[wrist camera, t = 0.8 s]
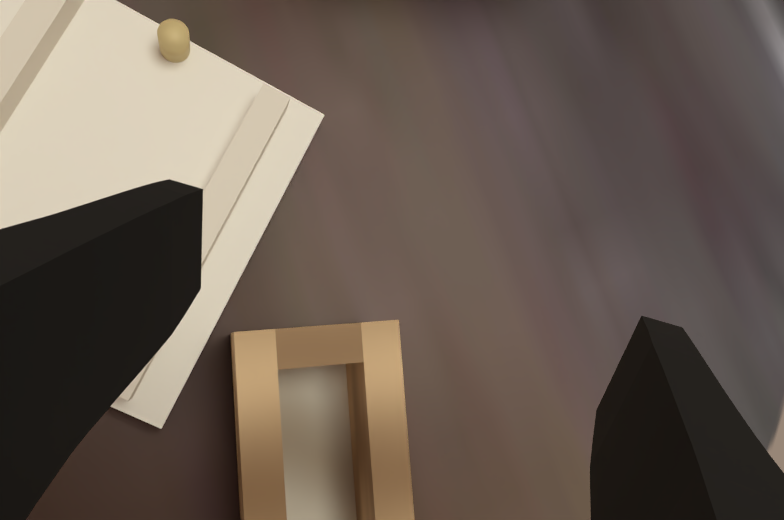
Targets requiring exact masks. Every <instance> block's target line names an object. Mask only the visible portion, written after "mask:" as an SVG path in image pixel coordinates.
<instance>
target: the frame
mask: <svg viewBox="0 0 784 520" xmlns="http://www.w3.org/2000/svg"><path fill="white" fill-rule="evenodd" d="M230 342H231V361H232V379H233V397H234V416H235V434H236V453H237V471H238V489H239V508H240V520H414V508H413V496H412V483H411V470H410V458H409V445H408V432H407V420H406V407H405V394H404V381H403V369H402V356H401V343H400V331H399V320H390V321H376V322H363V323H349V324H336V325H323V326H309V327H296V328H282V329H269V330H255V331H242V332H233V333H231V334H230Z"/></svg>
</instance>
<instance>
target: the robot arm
mask: <svg viewBox="0 0 784 520" xmlns="http://www.w3.org/2000/svg"><path fill="white" fill-rule="evenodd" d="M202 216H203V189H201V188H198V187H194V186H191V185H187V184H184V183H180V182H177V181H174V180H170V179H168V180H163V181H159V182H155V183H151V184H147V185H144V186H140V187H137V188H134V189H131V190H127V191H124V192H121V193H118V194H115V195H112V196H109V197H106V198H102V199H99V200H96V201H93V202H90V203H87V204H84V205H81V206H77V207H74V208H71V209H68V210H65V211H62V212H59V213H55V214H52V215H49V216H45V217H42V218H38V219H35V220H31V221H27V222H24V223H20V224H17V225H13V226H9V227H6V228H2V229H0V520H26V518H27V517H28V515H29V514H30V512H31V511H32V509H33V508H34V506H35V505H36V503H37V502H38V500H39V499H40V497H41V496H42V494H43V493H44V492H45V490H46V489H47V487H48V486H49V484H50V483H51V482H52V480H53V479H54V477H55V476H56V474H57V473H58V471H59V470H60V469H61V467H62V466H63V464H64V463H65V461H66V460H67V459H68V457H69V456H70V454H71V453H72V452H73V451H74V449H75V448H76V447H77V445H78V444H79V443H80V442H81V440H82V439H83V438H84V437H85V435H86V434H87V433H88V432H89V430H90V429H91V428H92V427H93V426H94V425H95V424H96V422H97V421H98V420H99V419H100V418H101V417H102V415H103V414H104V413H105V412H106V411H107V410H108V409H109V407H110V406H111V405H112V404H113V403H114V402H115V400H116V399H117V398H118V397H119V396H120V395H121V394H122V392H123V391H124V390H125V389H126V388H127V387H128V386H129V384H130V383H131V382H132V381H133V380H134V379H135V377H136V376H137V375H138V374H139V373H140V372H141V371H142V369H143V368H144V367H145V366H146V365H147V364H148V362H149V361H150V360H151V359H152V358H153V356H154V355H155V354H156V353H157V352H158V351H159V349H160V348H161V347H162V346H163V345H164V343H165V342H166V341H167V340H168V339H169V337H170V336H171V335H172V334H173V332H174V331H175V329H176V328H177V326H178V325H179V323H180V321H181V320H182V318H183V317H184V315H185V314H186V312H187V311H188V309H189V307H190V306H191V304H192V302H193V301H194V299H195V298H196V296H197V294H198V293H199V291H200V289H201V263H202ZM590 497H591V520H784V473H783V472H782V470H781V469H780V468H779V467H778V465H777V464H776V463H775V462H774V460H773V459H772V458H771V456H770V455H769V454H768V452H767V451H766V449H765V448H764V447H763V445H762V444H761V443H760V441H759V440H758V439H757V437H756V436H755V434H754V433H753V432H752V430H751V429H750V427H749V426H748V425H747V423H746V422H745V420H744V419H743V417H742V416H741V415H740V413H739V412H738V410H737V409H736V407H735V406H734V404H733V403H732V401H731V400H730V398H729V397H728V395H727V394H726V392H725V391H724V389H723V388H722V386H721V385H720V383H719V382H718V380H717V379H716V377H715V376H714V374H713V373H712V371H711V370H710V368H709V367H708V365H707V364H706V362H705V360H704V359H703V357H702V356H701V354H700V353H699V351H698V350H697V348H696V347H695V345H694V344H693V342H692V341H691V339H690V338H689V336H688V335H687V333H686V332H685V331H684V329H683V328H682V327H679V326H675V325H672V324H668V323H665V322H661V321H658V320H655V319H651V318H648V317H644V316H641V318H640V320H639V322H638V324H637V327H636V329H635V331H634V333H633V335H632V337H631V339H630V341H629V343H628V345H627V348H626V350H625V352H624V354H623V356H622V358H621V360H620V362H619V364H618V366H617V368H616V371H615V373H614V375H613V377H612V379H611V381H610V383H609V385H608V387H607V389H606V391H605V394H604V396H603V398H602V400H601V402H600V404H599V406H598V408H597V410H596V419H595V427H594V435H593V443H592V453H591V463H590Z"/></svg>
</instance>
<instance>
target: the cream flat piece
mask: <svg viewBox="0 0 784 520" xmlns="http://www.w3.org/2000/svg"><path fill="white" fill-rule="evenodd" d="M323 117H324V114H322V113H320V112H318V111H316V110H315V109H313V108H311V107H309V106H307V105H306V104H304V103H302V102H300V101H298V100H296V99H295V98H293V97H291V96H289V95H287V94H285V93H284V92H282V91H280V90H278V89H276V88H275V87H273V86H271V85H269V84H267V83H265V82H264V81H262V80H260V79H258V78H256V77H254V76H253V75H251V74H249V73H247V72H245V71H244V70H242V69H240V68H238V67H236V66H234V65H233V64H231V63H229V62H227V61H225V60H223V59H222V58H220V57H218V56H216V55H214V54H213V53H211V52H209V51H207V50H205V49H203V48H202V47H200V46H198V45H196V44H194V43H192V42H191V41H190V39H189V30H188V28H187V26H186V25H185V24H184V23H183V22H181V21H179V20H176V19H168V20H165V21H163V22H162V23H161V24H158V23H156V22H154V21H152V20H151V19H149V18H147V17H145V16H143V15H141V14H140V13H138V12H136V11H134V10H132V9H130V8H129V7H127V6H125V5H123V4H121V3H120V2H118V1H116V0H0V229H2V228H6V227H9V226H13V225H17V224H20V223H24V222H27V221H31V220H35V219H38V218H42V217H45V216H49V215H52V214H55V213H59V212H62V211H65V210H68V209H71V208H74V207H77V206H81V205H84V204H87V203H90V202H93V201H96V200H99V199H102V198H106V197H109V196H112V195H115V194H118V193H121V192H124V191H127V190H131V189H134V188H137V187H140V186H144V185H147V184H151V183H155V182H159V181H163V180H168V179H170V180H174V181H177V182H180V183H184V184H187V185H191V186H194V187H198V188H201V189H203V216H202V263H201V289H200V291H199V293H198V294H197V296H196V298H195V299H194V301H193V302H192V304H191V306H190V307H189V309H188V311H187V312H186V314H185V315H184V317H183V318H182V320H181V321H180V323H179V325H178V326H177V328H176V329H175V331H174V332H173V334H172V335H171V336H170V337H169V339H168V340H167V341H166V342H165V343H164V345H163V346H162V347H161V348H160V349H159V351H158V352H157V353H156V354H155V355H154V356H153V358H152V359H151V360H150V361H149V362H148V364H147V365H146V366H145V367H144V368H143V369H142V371H141V372H140V373H139V374H138V375H137V376H136V377H135V379H134V380H133V381H132V382H131V383H130V384H129V386H128V387H127V388H126V389H125V390H124V391H123V392H122V394H121V395H120V396H119V397H118V398H117V399H116V400H115V402H114V403H113V404H112V405H111V406H110V407H113V408H115V409H117V410H119V411H122V412H124V413H126V414H128V415H131V416H133V417H135V418H138V419H140V420H142V421H144V422H147V423H149V424H151V425H153V426H156V427H158V428H160V429H162V427H163V425H164V423H165V421H166V419H167V417H168V416H169V414H170V412H171V410H172V408H173V406H174V404H175V402H176V400H177V398H178V396H179V394H180V392H181V391H182V389H183V387H184V385H185V383H186V381H187V379H188V377H189V375H190V373H191V371H192V369H193V367H194V366H195V364H196V362H197V360H198V358H199V356H200V354H201V352H202V350H203V348H204V346H205V344H206V342H207V340H208V339H209V337H210V335H211V333H212V331H213V329H214V327H215V325H216V323H217V321H218V319H219V317H220V315H221V314H222V312H223V310H224V308H225V306H226V304H227V302H228V300H229V298H230V296H231V294H232V292H233V290H234V289H235V287H236V285H237V283H238V281H239V279H240V277H241V275H242V273H243V271H244V269H245V267H246V265H247V264H248V262H249V260H250V258H251V256H252V254H253V252H254V250H255V248H256V246H257V244H258V242H259V240H260V239H261V237H262V235H263V233H264V231H265V229H266V227H267V225H268V223H269V221H270V219H271V217H272V215H273V213H274V212H275V210H276V208H277V206H278V204H279V202H280V200H281V198H282V196H283V194H284V192H285V190H286V188H287V187H288V185H289V183H290V181H291V179H292V177H293V175H294V173H295V171H296V169H297V167H298V165H299V163H300V162H301V160H302V158H303V156H304V154H305V152H306V150H307V148H308V146H309V144H310V142H311V140H312V138H313V137H314V135H315V133H316V131H317V129H318V127H319V125H320V123H321V121H322V119H323Z"/></svg>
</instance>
